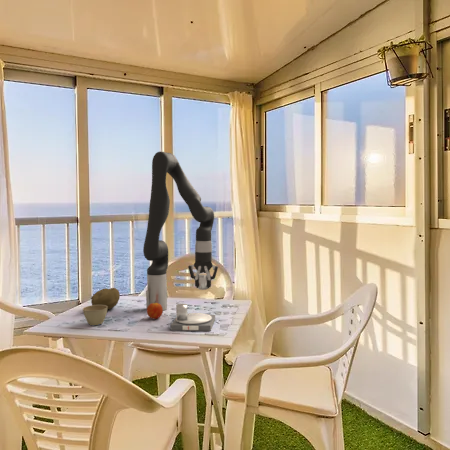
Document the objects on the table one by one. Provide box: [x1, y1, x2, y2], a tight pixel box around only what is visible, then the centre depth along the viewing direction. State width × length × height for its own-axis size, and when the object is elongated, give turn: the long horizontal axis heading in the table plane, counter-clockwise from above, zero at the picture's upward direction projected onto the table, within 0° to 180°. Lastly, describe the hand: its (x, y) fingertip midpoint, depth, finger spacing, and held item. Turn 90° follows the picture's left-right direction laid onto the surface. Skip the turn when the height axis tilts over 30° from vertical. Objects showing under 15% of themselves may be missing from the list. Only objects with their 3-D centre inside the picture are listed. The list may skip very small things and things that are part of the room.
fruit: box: [146, 301, 164, 320], centre depth 182 cm, size 7×7×8 cm
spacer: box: [197, 274, 209, 291], centre depth 187 cm, size 4×4×6 cm
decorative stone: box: [90, 287, 121, 311], centre depth 198 cm, size 17×11×10 cm, turn 164°
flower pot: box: [82, 304, 108, 326], centre depth 174 cm, size 10×10×7 cm
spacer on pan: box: [175, 303, 188, 321], centre depth 169 cm, size 4×4×6 cm
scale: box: [170, 312, 216, 332], centre depth 171 cm, size 16×17×3 cm
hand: (203, 287), depth 187 cm, fingers closed on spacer, 4 cm apart
